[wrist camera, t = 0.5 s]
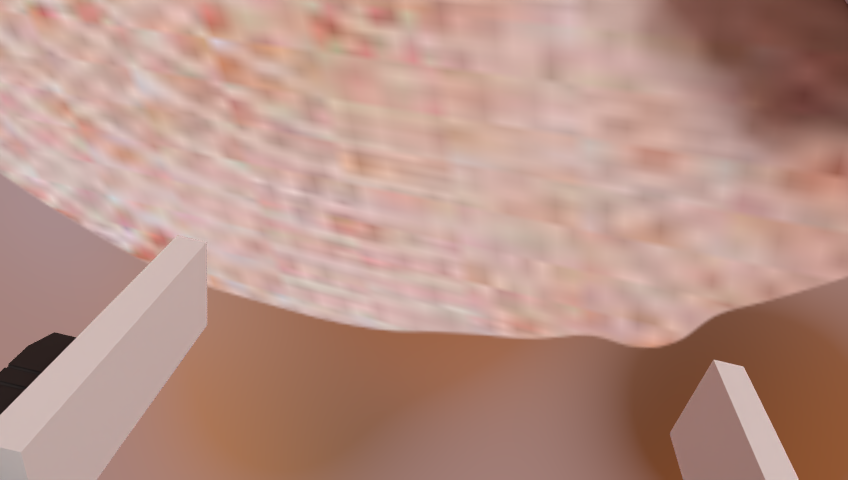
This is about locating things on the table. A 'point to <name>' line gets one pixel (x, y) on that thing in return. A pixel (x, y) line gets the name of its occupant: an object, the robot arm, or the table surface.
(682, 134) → the table surface
